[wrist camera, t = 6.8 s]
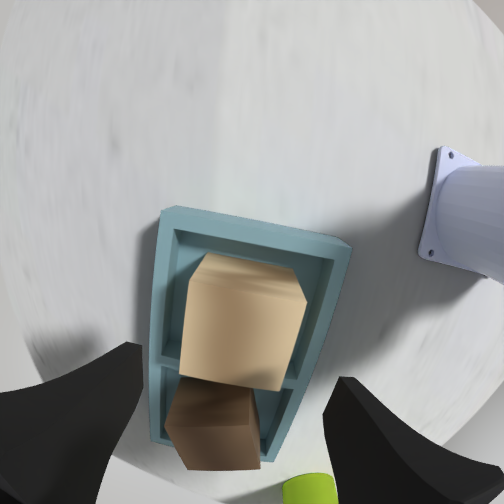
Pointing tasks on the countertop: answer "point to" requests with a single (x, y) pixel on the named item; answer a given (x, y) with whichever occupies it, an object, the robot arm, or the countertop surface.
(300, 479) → the soap dispenser
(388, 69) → the countertop surface
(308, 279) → the caddy
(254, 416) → the walnut block
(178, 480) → the countertop surface
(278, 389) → the oak twin block
